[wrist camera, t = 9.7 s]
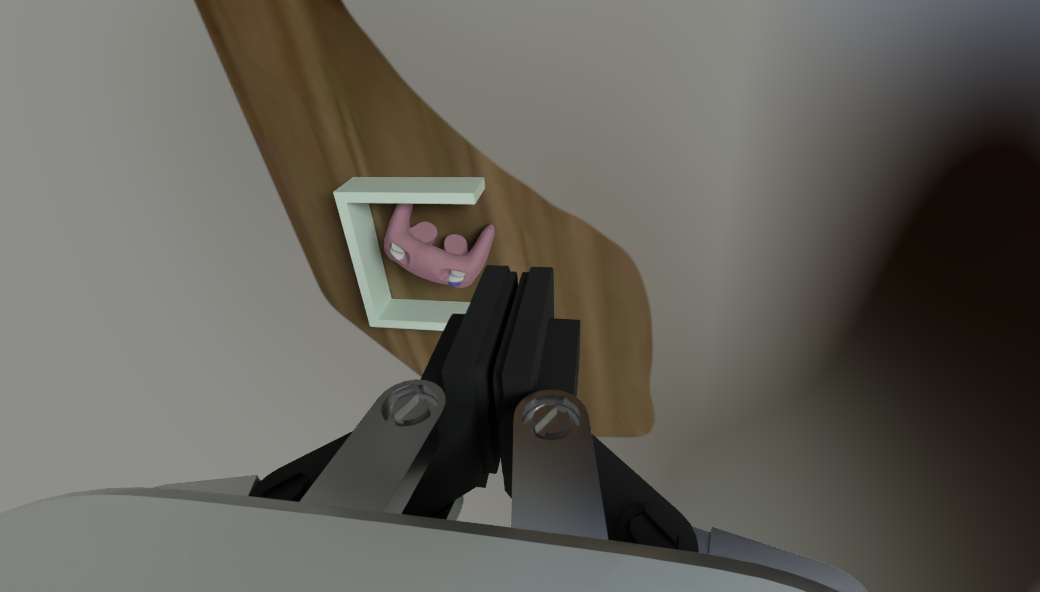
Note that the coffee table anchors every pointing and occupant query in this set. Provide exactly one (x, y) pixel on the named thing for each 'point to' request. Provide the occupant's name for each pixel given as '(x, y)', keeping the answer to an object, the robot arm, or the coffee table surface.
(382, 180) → the box
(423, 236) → the video game controller
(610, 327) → the coffee table surface
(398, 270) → the coffee table surface
